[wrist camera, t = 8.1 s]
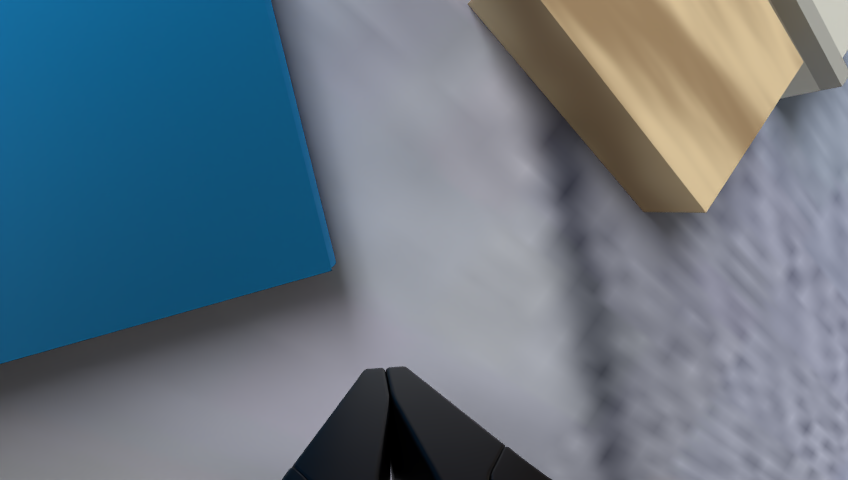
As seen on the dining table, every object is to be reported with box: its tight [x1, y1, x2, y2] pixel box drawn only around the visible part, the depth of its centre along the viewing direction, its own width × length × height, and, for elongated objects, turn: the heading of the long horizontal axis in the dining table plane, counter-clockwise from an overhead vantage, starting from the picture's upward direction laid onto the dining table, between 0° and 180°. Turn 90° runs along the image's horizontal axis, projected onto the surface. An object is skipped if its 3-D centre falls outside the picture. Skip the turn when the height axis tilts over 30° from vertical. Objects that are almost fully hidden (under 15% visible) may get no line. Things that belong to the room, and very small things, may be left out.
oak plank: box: [468, 0, 804, 213], centre depth 22 cm, size 4×14×10 cm
